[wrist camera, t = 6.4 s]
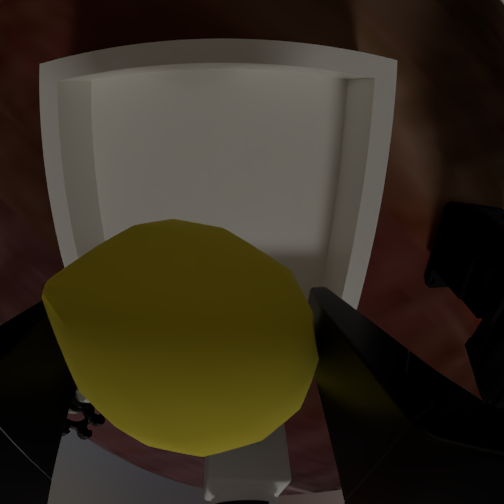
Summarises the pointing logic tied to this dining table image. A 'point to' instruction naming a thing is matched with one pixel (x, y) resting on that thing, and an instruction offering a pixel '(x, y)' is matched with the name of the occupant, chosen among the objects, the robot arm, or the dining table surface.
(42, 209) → the dining table surface
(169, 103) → the walled box
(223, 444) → the lemon
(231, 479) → the medicine bottle
